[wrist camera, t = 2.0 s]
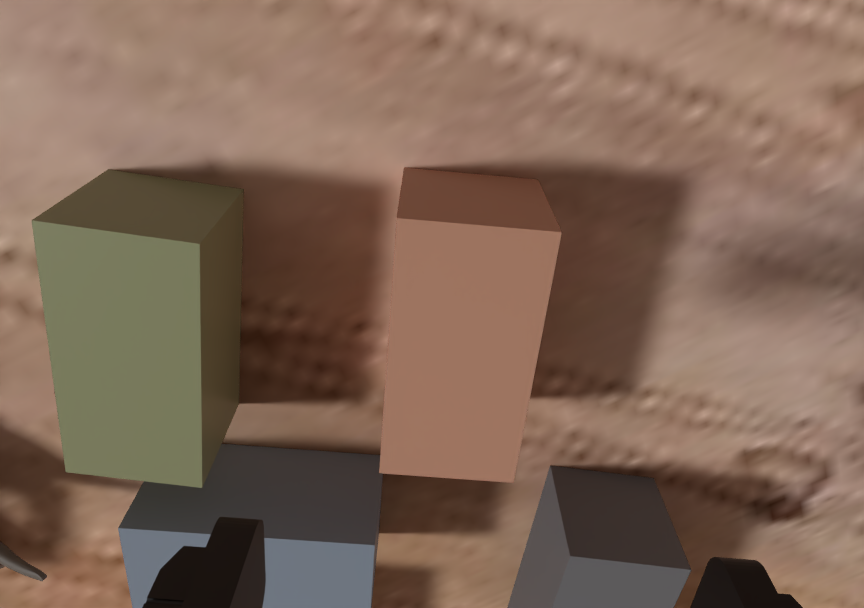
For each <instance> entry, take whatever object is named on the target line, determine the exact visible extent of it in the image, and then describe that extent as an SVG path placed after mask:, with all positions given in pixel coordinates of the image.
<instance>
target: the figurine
mask: <svg viewBox="0 0 864 608" xmlns="http://www.w3.org/2000/svg"><path fill="white" fill-rule="evenodd" d="M5 566H6V567H8V568H10V569H12V570H14V571H16V572H18V573H20V574H23V575H25V576H28V577H31V578H34V579H37V580H40V581H43V580H44V579H45V578H46V577H47V575H46V574H45V573H43V572H42V571H40V570H39V569H37V568H35V567H34V566H32V565H30V564H28V563H27V562H25V561H24V560H23V559H21V558H20V557H18V556H17V555H16V554H14V553H13V552H12V551H11V550H10V549H9V548H8V547H7V546H5V545H4V544H3V543H2V542H1V541H0V568H3V567H5Z"/></svg>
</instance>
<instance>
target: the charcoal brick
mask: <svg viewBox="0 0 864 608" xmlns="http://www.w3.org/2000/svg"><path fill="white" fill-rule="evenodd" d="M690 572H691V568H690V565H689V563H688V561H687V558H686V556H685V553H684V551H683V548H682V546H681V544H680V541H679V539H678V536H677V534H676V531H675V529H674V526H673V524H672V522H671V519H670V517H669V514H668V512H667V509H666V507H665V505H664V502H663V500H662V497H661V495H660V492H659V490H658V488H657V485H656V483H655V480H654V478H648V477H640V476H631V475H623V474H615V473H607V472H599V471H591V470H582V469H574V468H566V467H558V466H550V468H549V471H548V475H547V478H546V481H545V485H544V488H543V491H542V495H541V498H540V501H539V505H538V508H537V511H536V515H535V518H534V521H533V524H532V528H531V531H530V534H529V538H528V541H527V544H526V548H525V551H524V554H523V558H522V561H521V564H520V568H519V571H518V574H517V578H516V581H515V584H514V588H513V591H512V594H511V597H510V601H509V604H508V607H507V608H674V606H675V603H676V601H677V599H678V597H679V595H680V593H681V591H682V589H683V587H684V584H685V582H686V580H687V578H688V576H689V574H690Z"/></svg>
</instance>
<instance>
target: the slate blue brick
mask: <svg viewBox="0 0 864 608" xmlns="http://www.w3.org/2000/svg"><path fill="white" fill-rule="evenodd" d="M379 468H380V455H370V454H356V453H343V452H329V451H315V450H301V449H287V448H273V447H260V446H246V445H232V444H221V446H220V448H219V451H218V453H217V455H216V458H215V460H214V462H213V464H212V467H211V469H210V471H209V474H208V476H207V478H206V481H205V483H204V485H203V487H202V488H198V487H190V486H181V485H172V484H164V483H155V482H146V481H144V482H143V484H142V486H141V488H140V490H139V491H138V493H137V495H136V497H135V499H134V500H133V502H132V504H131V506H130V508H129V509H128V511H127V513H126V515H125V517H124V519H123V520H122V522H121V524H120V526H119V528H118V530H119V535H120V541H121V546H122V552H123V557H124V563H125V568H126V574H127V579H128V585H129V590H130V596H131V601H132V607H133V608H142V607H143V605H144V603H146V601H147V596H148V594H149V592H150V590H151V588H152V586H153V583H154V581H155V579H156V577H157V575H158V573H159V571H160V569H161V568H162V567H163V566H164V565H165V564H166V563H167V562H168V561H169V560H170V559H171V558H172V557H173V556H174V555H175V554H176V553H177V552H178V551H179V550H180V549H181V548H182V547H183V546H194V547H206V545H207V543H208V540H209V538H210V535H211V533H212V531H213V528H214V526H215V523H216V521H217V520H218V518H219V517H233V518H246V519H258V520H263V524H264V543H265V571H266V585H265V594H264V601H263V607H262V608H371V607H372V597H373V587H374V577H375V567H376V557H377V547H378V537H379V524H380V509H381V494H382V480H383V473H379Z"/></svg>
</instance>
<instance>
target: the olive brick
mask: <svg viewBox="0 0 864 608" xmlns="http://www.w3.org/2000/svg"><path fill="white" fill-rule="evenodd" d="M243 198H244V189H238V188H231V187H225V186H218V185H211V184H204V183H197V182H190V181H184V180H177V179H170V178H163V177H156V176H150V175H143V174H136V173H129V172H122V171H115V170H109V169H108V170H107V171H105V172H104V173H102V174H101V175H99V176H98V177H96V178H95V179H93V180H92V181H90V182H89V183H87V184H86V185H84V186H83V187H81V188H80V189H78V190H77V191H75V192H74V193H72V194H71V195H69V196H68V197H66V198H65V199H63V200H62V201H60V202H59V203H57V204H56V205H54V206H53V207H51V208H50V209H48V210H47V211H45V212H44V213H42V214H41V215H39V216H38V217H36V218H35V219H33V220H32V227H33V234H34V242H35V249H36V257H37V264H38V271H39V279H40V286H41V293H42V301H43V308H44V316H45V323H46V330H47V338H48V345H49V353H50V360H51V367H52V375H53V382H54V390H55V397H56V404H57V412H58V419H59V426H60V434H61V441H62V449H63V456H64V463H65V471H66V472H69V473H77V474H86V475H95V476H103V477H112V478H120V479H129V480H138V481H146V482H155V483H164V484H172V485H181V486H190V487H198V488H202V487H203V485H204V483H205V481H206V478H207V476H208V474H209V471H210V469H211V467H212V464H213V462H214V460H215V458H216V455H217V453H218V451H219V448H220V446H221V444H222V441H223V439H224V437H225V435H226V432H227V430H228V428H229V425H230V423H231V421H232V418H233V416H234V414H235V412H236V409H237V407H238V405H239V379H240V334H241V289H242V243H243Z"/></svg>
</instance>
